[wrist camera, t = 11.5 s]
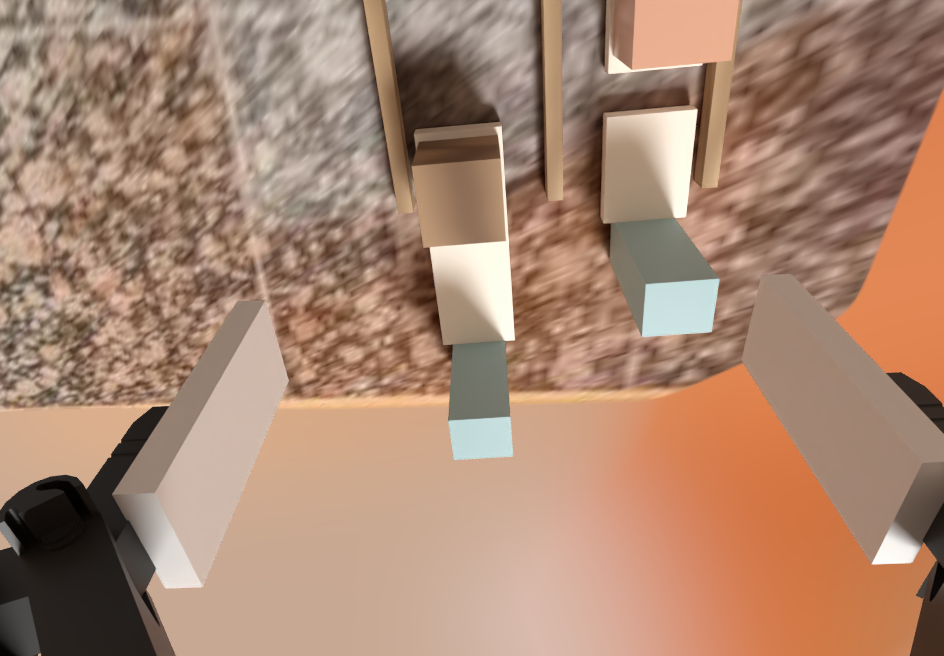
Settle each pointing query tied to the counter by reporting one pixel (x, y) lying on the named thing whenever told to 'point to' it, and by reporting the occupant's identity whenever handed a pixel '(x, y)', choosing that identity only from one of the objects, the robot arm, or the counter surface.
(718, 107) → the lane frame
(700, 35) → the block clay
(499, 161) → the block walnut
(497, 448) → the multicoloured block
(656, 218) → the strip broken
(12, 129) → the counter surface
